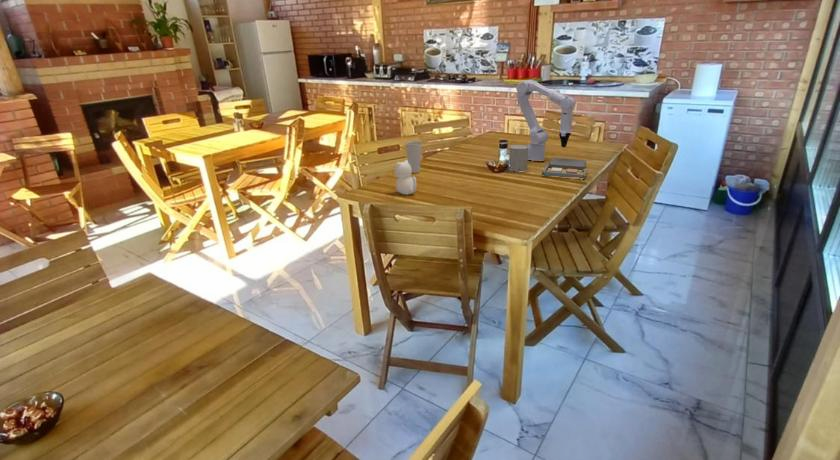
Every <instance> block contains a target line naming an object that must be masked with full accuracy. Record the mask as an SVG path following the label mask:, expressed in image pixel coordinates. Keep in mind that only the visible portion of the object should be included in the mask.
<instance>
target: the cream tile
mask: <svg viewBox="0 0 840 460" xmlns="http://www.w3.org/2000/svg"><path fill="white" fill-rule="evenodd" d="M562 169H563V168H552V169H551V172H558V173H562Z"/></svg>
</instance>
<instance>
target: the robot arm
mask: <svg viewBox="0 0 840 460" xmlns="http://www.w3.org/2000/svg"><path fill="white" fill-rule="evenodd" d="M516 92H517V94H516V96H517V97H516V98H517V103H518V105H519V107H520V109H521V113H522V115H523V116H524V118H525V122H526V123H527V125H528V128H529V133H528V134H529V140H530V143H528V144H527V146H528V159H527V160H544V158H545V155H546V154H545V152H546V151H545V150H546V142H547V140H548V138H549V135H548V133H547V132H546V131H545V129H544V128H543V127H542V126H541V125H540V123H539V121H538V119H537V117H536V114H535V112H534V109H533V107H532V105H531V102H530V100H529V98H530V96H531V94H533V92H537V93H538V94H541V95H544V96H546V97H548V99H549V101H550V102H552V103H554V104H556V105H558V106H560V108H561V112H560V123H559V132H560V133H558V135H559V138H560V139H559V140H560V144H561V145H560V146H561V148H566V147H567V145H568V141H569V139H570V137H571V135H572V133H571V132H574V129H572V125H573V115H574V107H575V106H576V104H577V101H576V98H574V97H573V96H568V94H564V93H562V92H561V91H560V89H557V90H556V89H554V90H552V89H549V88H548V87H547V86H544V85H543V84H541V83H539V82H538V81H536V80H533V79H527V80H521V81H520V82H518V84H517V86H516ZM529 157H530V158H529Z"/></svg>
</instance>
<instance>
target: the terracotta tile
mask: <svg viewBox="0 0 840 460" xmlns="http://www.w3.org/2000/svg"><path fill="white" fill-rule="evenodd" d="M577 172H578V169H567V171H566V173H569V174H577Z"/></svg>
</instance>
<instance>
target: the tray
mask: <svg viewBox="0 0 840 460" xmlns="http://www.w3.org/2000/svg"><path fill="white" fill-rule="evenodd" d="M548 168H549V164H547V165H546V166H544V168H543V170H542V171H541V176H542V175H544V176H559V177H579V178H584V177H585V178H586V176H585V175H587V174H586V172H588V168H587V167H585V168H584V171H583V175H581V174H569V173H558V172H547V170H548Z"/></svg>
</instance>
